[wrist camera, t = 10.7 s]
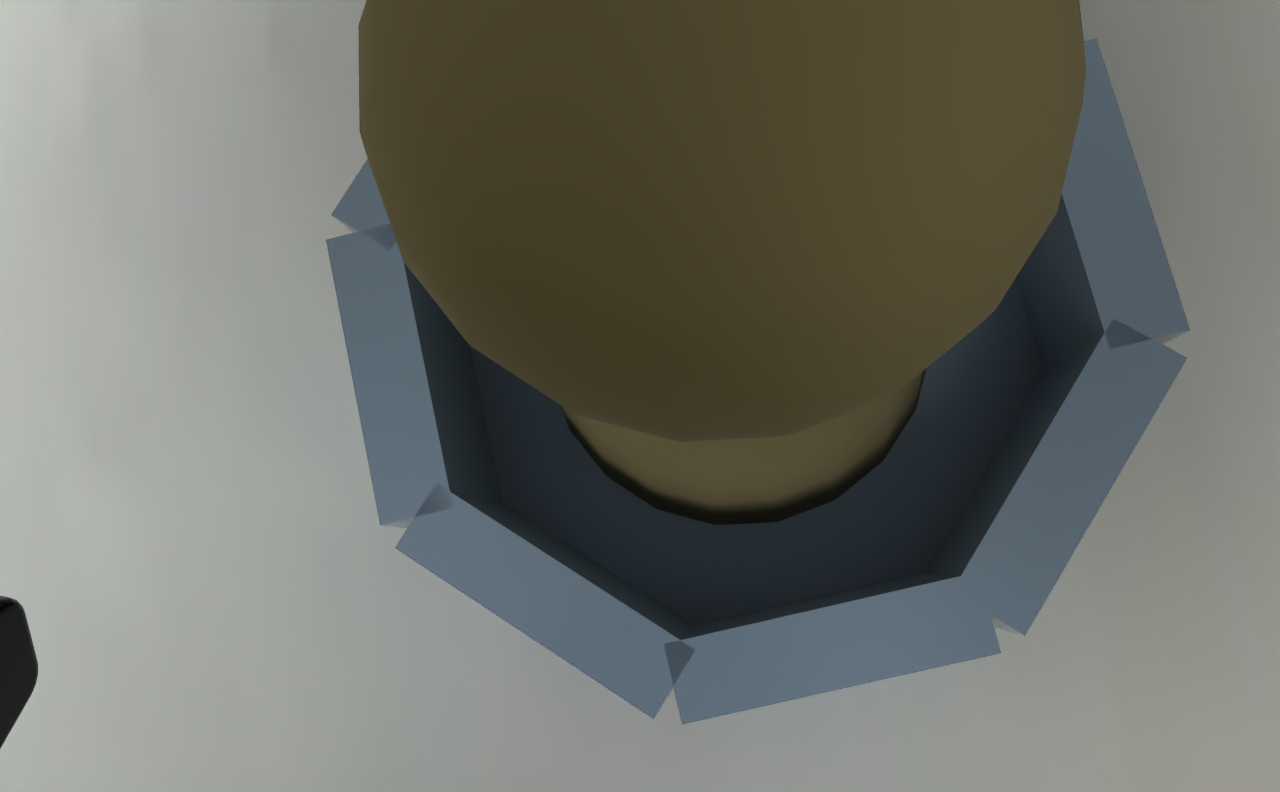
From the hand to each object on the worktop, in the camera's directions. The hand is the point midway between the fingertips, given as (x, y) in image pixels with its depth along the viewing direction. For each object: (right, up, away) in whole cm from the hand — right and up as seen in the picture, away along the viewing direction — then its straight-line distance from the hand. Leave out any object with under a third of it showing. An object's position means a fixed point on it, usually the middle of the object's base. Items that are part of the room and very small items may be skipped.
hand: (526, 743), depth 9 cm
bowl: (+3, +4, +9) cm, 10 cm away
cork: (+2, +4, +8) cm, 10 cm away
